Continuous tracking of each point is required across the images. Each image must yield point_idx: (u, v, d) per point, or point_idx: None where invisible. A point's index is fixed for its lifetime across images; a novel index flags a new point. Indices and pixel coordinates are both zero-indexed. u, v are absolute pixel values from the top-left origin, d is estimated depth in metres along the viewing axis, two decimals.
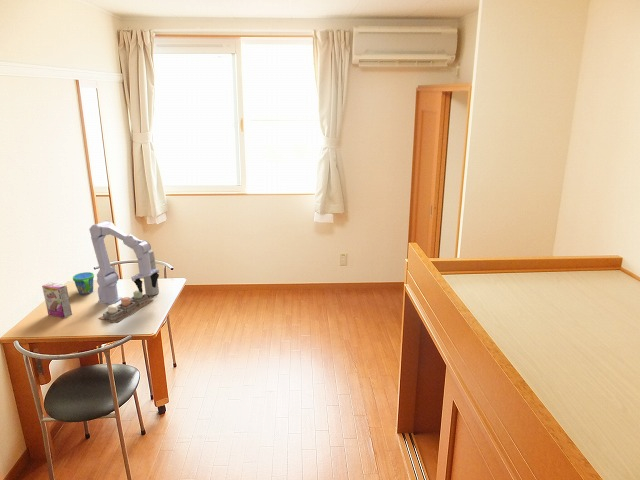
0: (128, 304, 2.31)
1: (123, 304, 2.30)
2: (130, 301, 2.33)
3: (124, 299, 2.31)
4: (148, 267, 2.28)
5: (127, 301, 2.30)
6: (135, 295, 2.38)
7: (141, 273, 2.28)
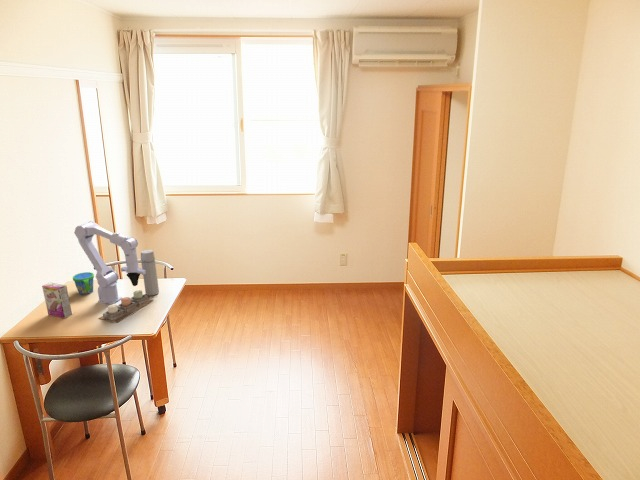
0: (128, 304, 2.31)
1: (123, 304, 2.30)
2: (130, 301, 2.33)
3: (124, 299, 2.31)
4: (129, 264, 2.31)
5: (127, 301, 2.30)
6: (135, 295, 2.38)
7: None
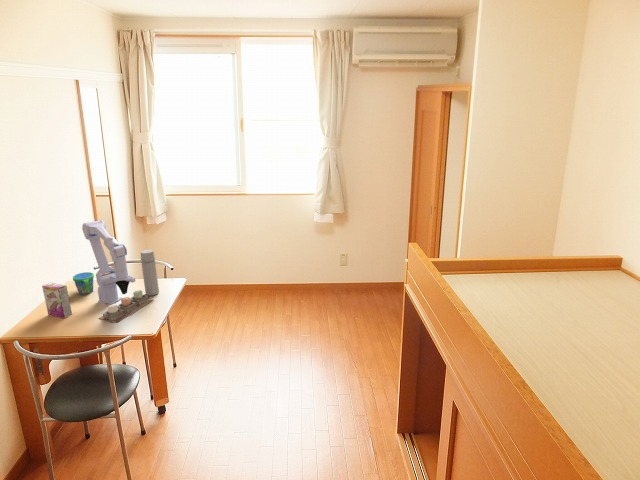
0: (128, 304, 2.31)
1: (123, 304, 2.30)
2: (130, 301, 2.33)
3: (124, 299, 2.31)
4: (118, 272, 2.24)
5: (127, 301, 2.30)
6: (135, 295, 2.38)
7: None
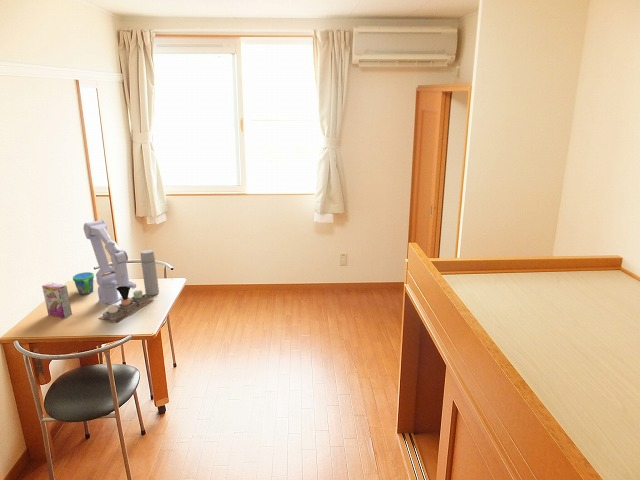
0: (128, 304, 2.31)
1: (123, 304, 2.30)
2: (130, 301, 2.33)
3: None
4: (119, 278, 2.25)
5: (127, 301, 2.30)
6: (135, 295, 2.38)
7: None
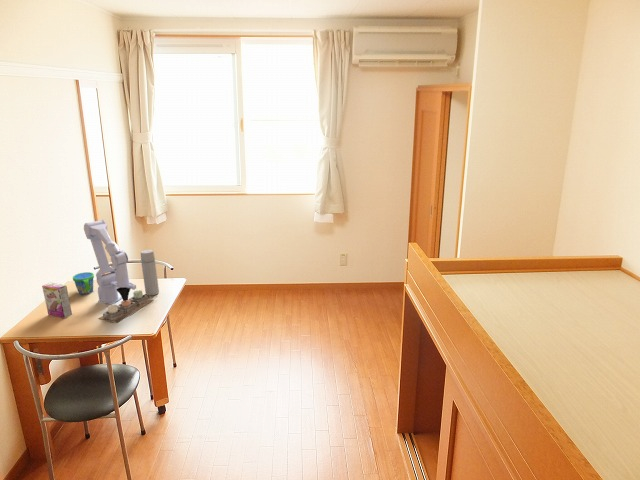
0: None
1: (123, 306, 2.31)
2: (130, 303, 2.33)
3: (124, 301, 2.31)
4: (119, 279, 2.25)
5: (127, 303, 2.31)
6: (135, 295, 2.38)
7: None
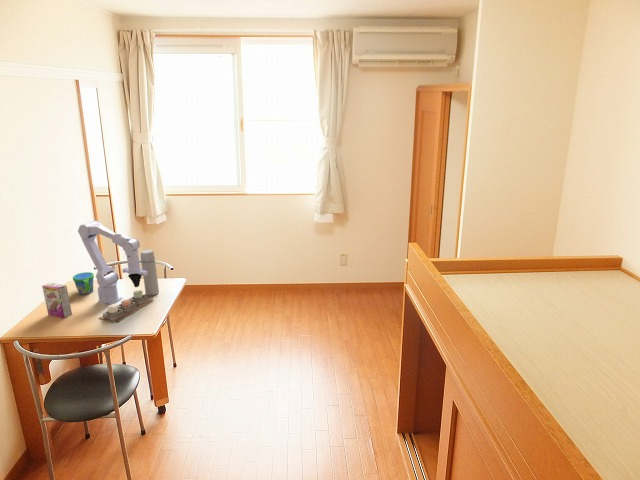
0: None
1: (123, 306, 2.31)
2: (130, 303, 2.33)
3: (124, 301, 2.31)
4: (131, 265, 2.29)
5: (127, 303, 2.31)
6: (135, 295, 2.38)
7: None
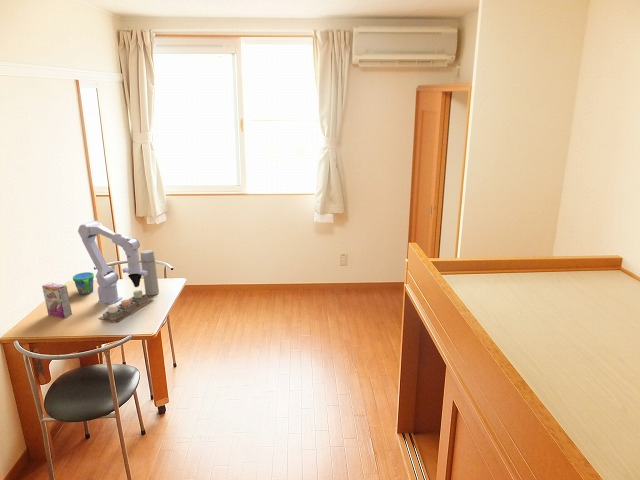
0: None
1: (123, 306, 2.31)
2: (130, 303, 2.33)
3: (124, 301, 2.31)
4: (131, 265, 2.29)
5: (127, 303, 2.31)
6: (135, 295, 2.38)
7: None
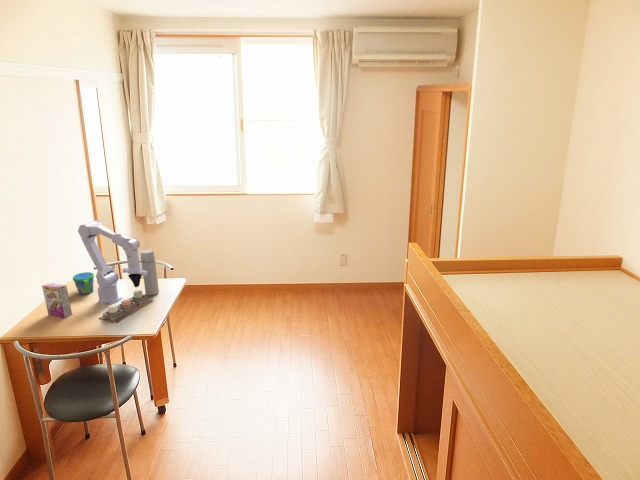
0: None
1: (123, 306, 2.31)
2: (130, 303, 2.33)
3: (124, 301, 2.31)
4: (131, 265, 2.29)
5: (127, 303, 2.31)
6: (135, 295, 2.38)
7: None
